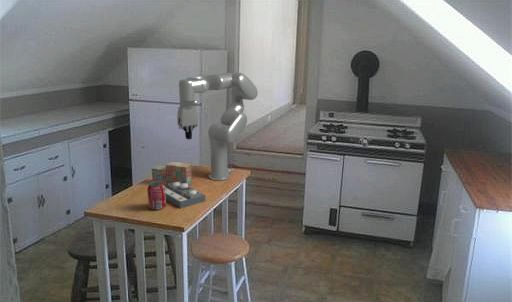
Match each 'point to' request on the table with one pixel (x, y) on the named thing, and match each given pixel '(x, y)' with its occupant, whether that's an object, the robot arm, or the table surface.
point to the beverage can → (156, 195)
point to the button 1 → (175, 184)
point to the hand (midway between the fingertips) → (188, 138)
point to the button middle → (183, 186)
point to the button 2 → (192, 192)
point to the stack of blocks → (173, 173)
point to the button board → (182, 196)
